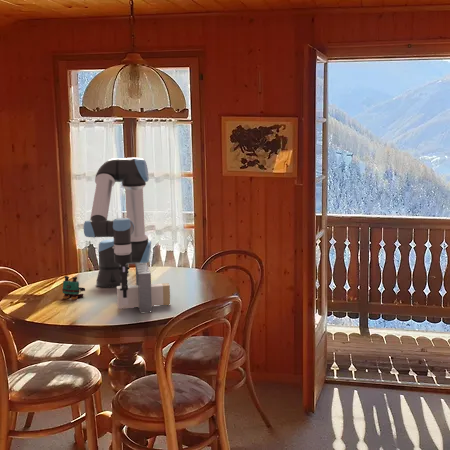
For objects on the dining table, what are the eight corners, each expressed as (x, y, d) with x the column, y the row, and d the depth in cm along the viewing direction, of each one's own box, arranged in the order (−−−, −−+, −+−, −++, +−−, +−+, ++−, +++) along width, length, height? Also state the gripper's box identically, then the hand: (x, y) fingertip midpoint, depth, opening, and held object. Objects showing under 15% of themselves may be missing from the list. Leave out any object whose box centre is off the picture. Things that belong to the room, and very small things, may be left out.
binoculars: (88, 275, 297) (75, 277, 288) (87, 297, 298) (75, 300, 288) (72, 274, 301) (59, 276, 291) (71, 295, 301) (59, 298, 292)
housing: (140, 313, 266) (138, 273, 264) (136, 299, 290) (135, 263, 287) (151, 312, 267) (150, 273, 265) (147, 298, 291) (146, 262, 288)
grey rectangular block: (117, 308, 274) (117, 288, 272) (117, 305, 279) (116, 286, 277) (170, 305, 278) (169, 285, 277) (168, 302, 283) (168, 283, 282)
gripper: (113, 249, 285) (115, 294, 288) (114, 259, 261) (116, 308, 263) (129, 248, 286) (131, 293, 289) (132, 258, 262) (134, 307, 265)
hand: (124, 300), depth 276 cm, fingers open, 13 cm apart
